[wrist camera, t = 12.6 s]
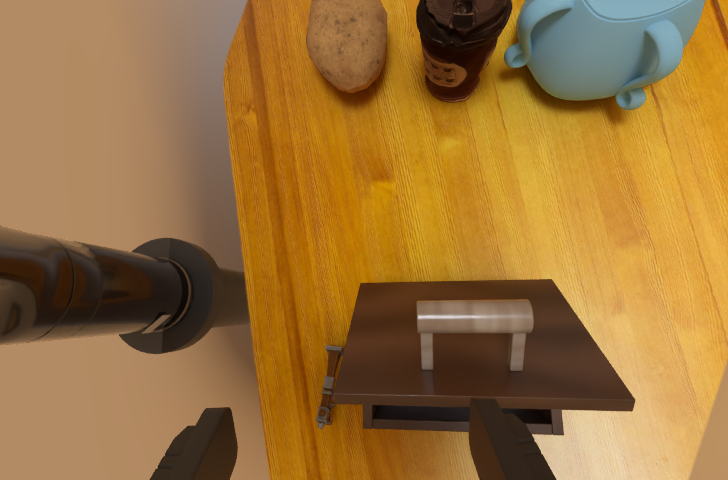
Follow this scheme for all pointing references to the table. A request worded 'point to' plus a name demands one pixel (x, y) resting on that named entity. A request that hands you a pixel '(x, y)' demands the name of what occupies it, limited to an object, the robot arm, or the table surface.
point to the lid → (474, 348)
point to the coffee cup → (458, 42)
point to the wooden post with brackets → (329, 387)
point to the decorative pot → (602, 45)
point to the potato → (348, 41)
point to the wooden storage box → (453, 418)
